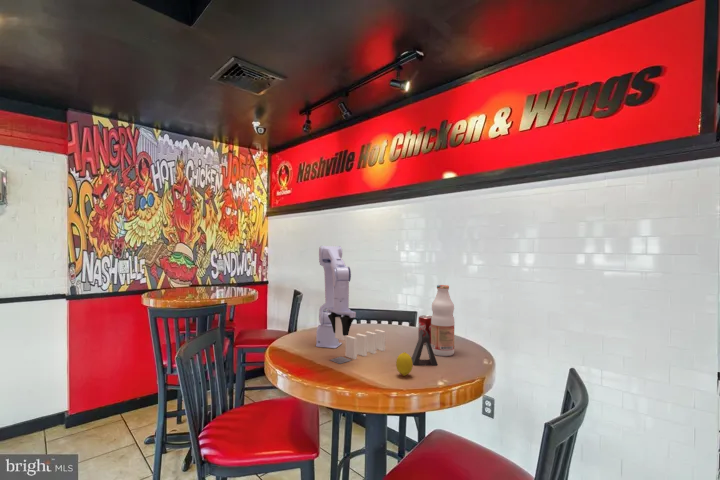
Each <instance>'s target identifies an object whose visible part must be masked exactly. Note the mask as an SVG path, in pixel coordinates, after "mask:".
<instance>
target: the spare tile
mask: <svg viewBox="0 0 720 480" xmlns="http://www.w3.org/2000/svg"><path fill="white" fill-rule="evenodd" d="M347 336H348V335H345V336H344V335H343V331H342V322H341V319H340V317H335V338H337V339H339V340H340V341H346V340H347Z"/></svg>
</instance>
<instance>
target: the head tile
mask: <svg viewBox="0 0 720 480" xmlns="http://www.w3.org/2000/svg"><path fill="white" fill-rule="evenodd" d="M373 333H376V334H377V338H376V351H381V352H385V351H386V331H384V330H381V329H374V331H373Z"/></svg>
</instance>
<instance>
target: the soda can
mask: <svg viewBox="0 0 720 480" xmlns="http://www.w3.org/2000/svg"><path fill="white" fill-rule="evenodd" d="M431 318H432V315H427V314H425V315H422V314H421V315H419V316H418V321H417V322H418V324H417V325H418V326H417V327H418V335H417V336H418V337H417V338H418V339H419V331H420V330H421V329H422V330H423V332H424V333H425V334H424V335H423V336H424V337H425V335H426V332H425V331H424V329H425V330H426V331H427V333H428V334H429V335H430V339H429V340H430V344H431ZM418 339H417V340H418ZM423 346H426V343H424V345H423Z"/></svg>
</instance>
